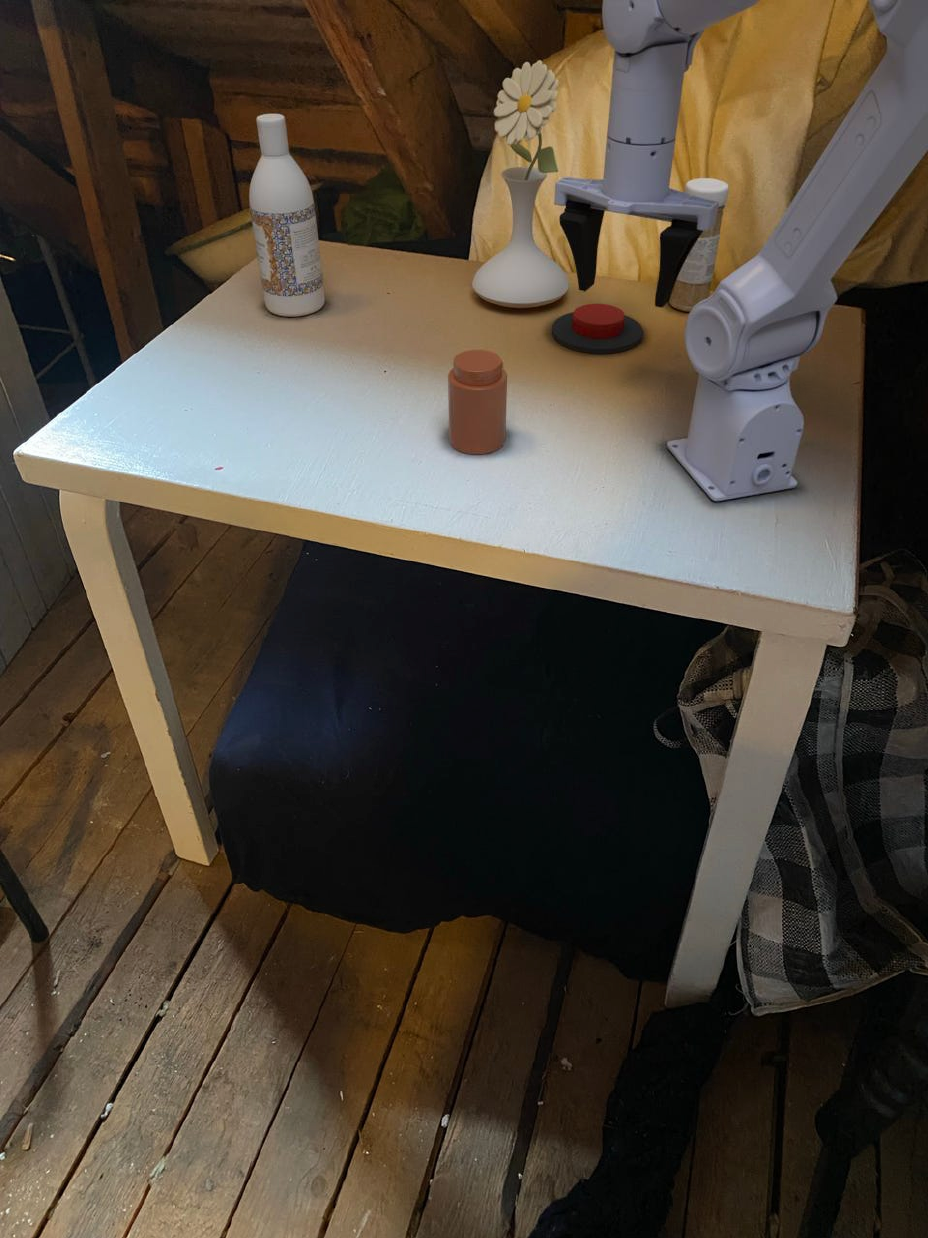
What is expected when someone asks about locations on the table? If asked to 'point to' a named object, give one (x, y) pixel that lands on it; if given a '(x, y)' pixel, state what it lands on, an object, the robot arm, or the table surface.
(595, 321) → the lid
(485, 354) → the jar
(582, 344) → the coaster
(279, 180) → the bath foam
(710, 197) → the sprinkles bottle
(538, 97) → the flower in vase
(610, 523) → the table surface
